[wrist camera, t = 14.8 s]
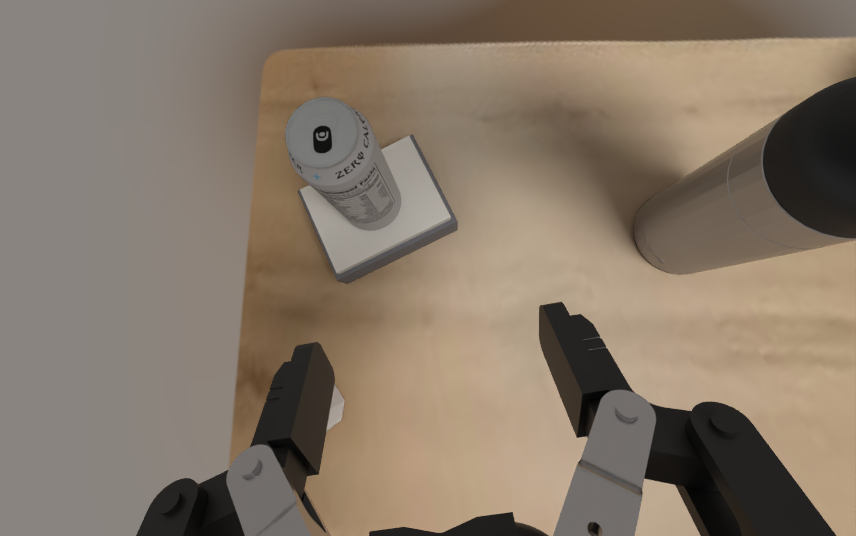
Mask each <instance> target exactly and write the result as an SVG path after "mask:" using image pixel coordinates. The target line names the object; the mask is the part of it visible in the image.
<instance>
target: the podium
mask: <svg viewBox="0 0 856 536" xmlns="http://www.w3.org/2000/svg"><path fill="white" fill-rule="evenodd" d="M381 151H382V153H383V155H384V157H385V160H386V162H387V164H388V166H389V168H390V171H391V173H392V175H393V177H394V180H395V182H396V184H397V186H398V189H399V191H400V194H401V207H400V211H399V213H398V215H397V217H396V218H395V220H394V221H393V222H392V223H391V224H389V225H388V226H386V227H384V228H382V229H380V230H375V231H367V230H362V229H360V228H357V227H356V226H354V225H353V224H352V223H351V222H350V221H348V220H347V219H346V218H345V217H344V216H343V215H342V214H341V213H340V212H339V211H338V210H336V209H335V208H334V207H333V206H332V205H331V204H330V203H329V202H328V201H327V200H326V199H325V198H323V197H322V196H321V195H320V194H319V193H318V192H317V191H316V190H315V189H314V188H313V187H311V186H310V185H308V186H306V187H304V188H302V189H300V190H299V191H298V193H299V195H300V197H301V200H302V202H303V204H304V206H305V209H306V211H307V213H308V215H309V218H310V220H311V222H312V225H313V227H314V229H315V231H316V234H317V236H318V238H319V240H320V243H321V245H322V247H323V250H324V252H325V254H326V256H327V259H328V261H329V263H330V265H331V268H332V270H333V272H334V275H335V277H336V279H337V281H340V282H343V283H346V284H348V283H350V282H352V281H354V280H356V279H358V278H360V277H362V276H364V275H366V274H368V273H370V272H372V271H375V270H377V269H379V268H381V267H383V266H385V265H387V264H389V263H391V262H393V261H395V260H397V259H399V258H401V257H403V256H405V255H407V254H409V253H411V252H413V251H415V250H417V249H419V248H421V247H423V246H425V245H428V244H430V243H432V242H434V241H436V240H438V239H440V238H442V237H444V236H446V235H448V234H450V233H452V232H454V231H456V230H457V220H456V218H455V216H454V214H453V212H452V210H451V208H450V206H449V204H448V202H447V200H446V198H445V196H444V195H443V193H442V191H441V189H440V187H439V185H438V183H437V181H436V179H435V177H434V175H433V173H432V171H431V169H430V167H429V165H428V163H427V162H426V160H425V158H424V156H423V154H422V152H421V150H420V148H419V146H418V144H417V142H416V140H415V138H414V136H413V134H412V135H410V136H407V137H405V138H403V139H401V140H399V141H397V142H395V143H393V144H391V145H389V146H387V147H385V148H383V149H381Z"/></svg>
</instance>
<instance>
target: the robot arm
mask: <svg viewBox="0 0 856 536" xmlns="http://www.w3.org/2000/svg"><path fill="white" fill-rule="evenodd" d="M634 237H635V241H636V244H637V246H638V249H639V251H640V252H641V254H642V255H643V256H644V258H645V259H646V260H647V261H649V262H650V263H651V264H652V265H653V266H655V267H657V268H658V269H660V270H663V271H665V272H668V273H673V274H679V275H680V274H692V273H697V272H702V271H707V270H712V269H717V268H722V267H727V266H732V265H737V264H742V263H747V262H752V261H757V260H762V259H767V258H772V257H777V256H782V255H787V254H792V253H797V252H801V251H806V250H811V249H816V248H821V247H825V246H830V245H835V244H840V243H845V242H850V241H855V240H856V77H854V78H850V79H847V80H844V81H841V82H838V83H836V84H833V85H831V86H829V87H827V88H825V89H823V90H821V91H819V92H818V93H816V94H814V95H813V96H811V97H809V98H808V99H806V100H805V101H803V102H801V103H800V104H798V105H797V106H795V107H794V108H792V109H791V110H789V111H788V112H786V113H785V114H783V115H782V116H780V117H779V118H777V119H775V120H774V121H772V122H771V123H769V124H768V125H766V126H764V127H763V128H761V129H760V130H758V131H756V132H755V133H753V134H752V135H750V136H749V137H747V138H746V139H744V140H743V141H741V142H740V143H738V144H736V145H735V146H733V147H732V148H730V149H728V150H727V151H725V152H724V153H722V154H720V155H719V156H717V157H716V158H714V159H713V160H711V161H709V162H708V163H706V164H705V165H703V166H701V167H700V168H698V169H697V170H695V171H693V172H692V173H690V174H689V175H687V176H686V177H684V178H682V179H681V180H679V181H678V182H676V183H674V184H673V185H671V186H669V187H668V188H666V189H665V190H663V191H662V192H660V193H658V194H657V195H655V196H654V197H652V198H651V199H650V200H648V201H647V202H646V203H645V204H644V205H643V206H642V207H641V208H640V210H639V212H638V214H637V216H636V219H635V223H634ZM539 339H540V344H541V348H542V351H543V354H544V356H545V359H546V361H547V364H548V366H549V369H550V371H551V374H552V376H553V379H554V381H555V384H556V386H557V389H558V391H559V394H560V397H561V399H562V402H563V404H564V407H565V409H566V412H567V414H568V417H569V419H570V422H571V424H572V427H573V429H574V432H575V434H576V437H577V438H578V437H585V436H587V437H588V440H587V443H586V446H585V449H584V452H583V455H582V458H581V460H580V461H579V462H578V465H577V467H576V470H575V472H574V475H573V478H572V481H571V484H570V487H569V490H568V493H567V496H566V499H565V502H564V505H563V508H562V511H561V514H560V517H559V520H558V523H557V526H556V529H555V532H554V535H553V536H634V535H635V530H636V525H637V520H638V516H639V511H640V506H641V500H642V486H643V481H644V479H649V480H654V481H659V482H664V483H669V484H674V485H676V487H677V489H678V491H679V493H680V495H681V497H682V499H683V501H684V503H685V505H686V507H687V509H688V511H689V513H690V515H691V517H692V519H693V521H694V523H695V525H696V527H697V529H698V531H699V533H700V535H701V536H836V535H835V533H834V532H833V531H832V529H831V528H830V527H829V525H828V524H827V523H826V521H825V520H824V519H823V517H822V516H821V515H820V513H819V512H818V511H817V509H816V508H815V507H814V505H813V504H812V503H811V501H810V500H809V499H808V497H807V496H806V495H805V493H804V492H803V491H802V489H801V488H800V487H799V485H798V484H797V483H796V481H795V480H794V479H793V477H792V476H791V475H790V473H789V472H788V471H787V469H786V468H785V467H784V465H783V464H782V463H781V461H780V460H779V459H778V457H777V456H776V455H775V453H774V452H773V451H772V449H771V448H770V447H769V445H768V444H767V443H766V441H765V440H764V439H763V437H762V436H761V435H760V433H759V432H758V431H757V429H756V428H755V427H754V425H753V424H752V423H751V422H750V420H749V419H748V418H747V417H746V416H745V415H743V414H742V413H741V412H739V411H738V410H736V409H734V408H732V407H730V406H728V405H725V404H722V403H718V402H703V403H700V404H698V405H696V406H695V407H694V408H693V409H692V411H686V410H679V409H672V408H665V407H660V406H656V405H653V404H651V403H649V402H647V401H646V400H645V399H644V398H643V397H641V396H640V395H638V394H636V393H635V392H634V391H633V390H632V389H631V388H630V386H629V385H628V383H627V381H626V380H625V378H624V376H623V374H622V373H621V371H620V369H619V368H618V366H617V364H616V362H615V361H614V359H613V357H612V356H611V354H610V352H609V351H608V349H606V345H605V344H604V342H603V340H602V339H601V338H600V335H599V334H598V332H597V330H596V328H595V327H594V325H593V324H592V323H591V322H590V321H589V320H587V319H586V318H585V317H583V316H582V315H581V314H578V315H572V316H570V315H569V313H568V311H567V309H566V307H565V306H564V304H563V303H562V302H558V303H552V304H546V305H540V307H539ZM334 384H335V377H334V371H333V368H332V366H331V364H330V362H329V360H328V358H327V356H326V354H325V352H324V351H323V349H322V347H321V345H320V344H319V343H318V342H315V343H309V344H303V345H298V346H296V347H295V349H294V352H293V356H292V359H291V361H290V362H284V363H283V365H282V366H281V367H280V369H279V370H278V371H277V373H276V374H275V375H274V378H273V381H272V384H271V387H270V391H269V393H268V396H267V399H266V400H267V402H265V405H264V408H263V411H262V414H261V417H260V420H259V423H258V426H257V429H256V432H255V435H254V438H253V440H252V443H251V446H250V448H248V449H246V450H245V451H243V452H242V453H241V454H240V455H239V456H238V457H237V458H236V459H235V460H234V461H233V463H232V464H231V466H230V468H229V470H227V471H225V472H224V473H221V474H219V475H217V476H215V477H213V478H211V479H209V480H207V481H205V482H202V483H200V484H197V483H196V482H195V481H194V480H192V479H189V478H184V479H180V480H177V481H175V482H173V483H171V484H170V485H168V486H167V487H165V488H164V489H163V490H162V491H161V492H160V493H159V494H158V495H157V496H156V498H155V499H154V500H153V502H152V503H151V505H150V507H149V509H148V511H147V513H146V515H145V517H144V520H143V522H142V524H141V526H140V529H139V531H138V533H137V535H136V536H331V535H330V533H329V531H328V530H327V528H326V526H325V524H324V522H323V520H322V518H321V517H320V515H319V513H318V511H317V509H316V507H315V505H314V504H313V502H312V500H311V498H310V496H309V494H308V492H307V491H306V489H305V483H306V478H307V476H311V475H318V474H319V470H320V464H321V459H322V453H323V447H324V442H325V436H326V430H327V424H328V419H329V413H330V407H331V401H332V396H333V390H334ZM369 536H549V535H547V534H545V533H544V532H542V531H540V530H538V529H536V528H534V527H532V526H529V525H526V524H523V523H517V522H515V521H514V517H513V512H510V513H503V514H495V515H488V516H481V517H476V518H474V519H471V520H469V521H467V522H465V523H463V524H461V525H459V526H456V527H454V528H452V529H450V530H448V531H446V532H443V533H435V532H429V531H424V530H418V529H413V528H407V527H400V528H393V529H385V530H378V531H371V532H369Z"/></svg>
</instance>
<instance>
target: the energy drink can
mask: <svg viewBox="0 0 856 536" xmlns="http://www.w3.org/2000/svg"><path fill="white" fill-rule="evenodd" d="M285 139H286V144H287V147H288V153H289V159H290V161H291V164H292V166H293V168H294V169H295V171H296V172H297V173H298V174H299V175H300V176H301V177H302V178H303V179H304V180H305V181H306V182H307V183H308V184H309V185H310V186H311V187H313V188H314V189H315V190H316V191H317V192H318V193H319V194H320V195H321V196H322V197H323V198H325V199H326V200H327V201H328V202H329V203H330V204H331V205H332V206H333V207H334V208H335V209H336V210H338V211H339V212H340V213H341V214H342V215H343V216H344V217H345V218H346V219H347V220H348V221H350V222H351V223H352V224H353V225H354V226H356V227H357V228H360V229H362V230H367V231H375V230H380V229H382V228H384V227H386V226H388V225H389V224H391V223H392V222H393V221H394V220H395V218H396V217H397V215H398V213H399V211H400V207H401V194H400V191H399V189H398V186H397V184H396V182H395V180H394V177H393V175H392V173H391V171H390V168H389V166H388V164H387V162H386V160H385V157H384V155H383V153H382V151H381V148H380V146H379V144H378V142H377V139H376V137H375V135H374V133H373V130H372V128H371V126H370V124H369V122H368V121H367V119H366V118H365V117H364V116H363V115H362V114H361V113H360V112H359V111H357V110H356V109H354V108H352V107H350V106H348V105H347V104H346V103H344V102H342V101H341V100H338V99H335V98H330V97H319V98H315V99H311V100H309V101H307V102H305V103H304V104H302V105H300V106H299V107H298V108H297V109H296V110H295V111H294V113H293V114H292V115H291V117H290V119H289V121H288V123H287V127H286V132H285Z"/></svg>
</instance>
